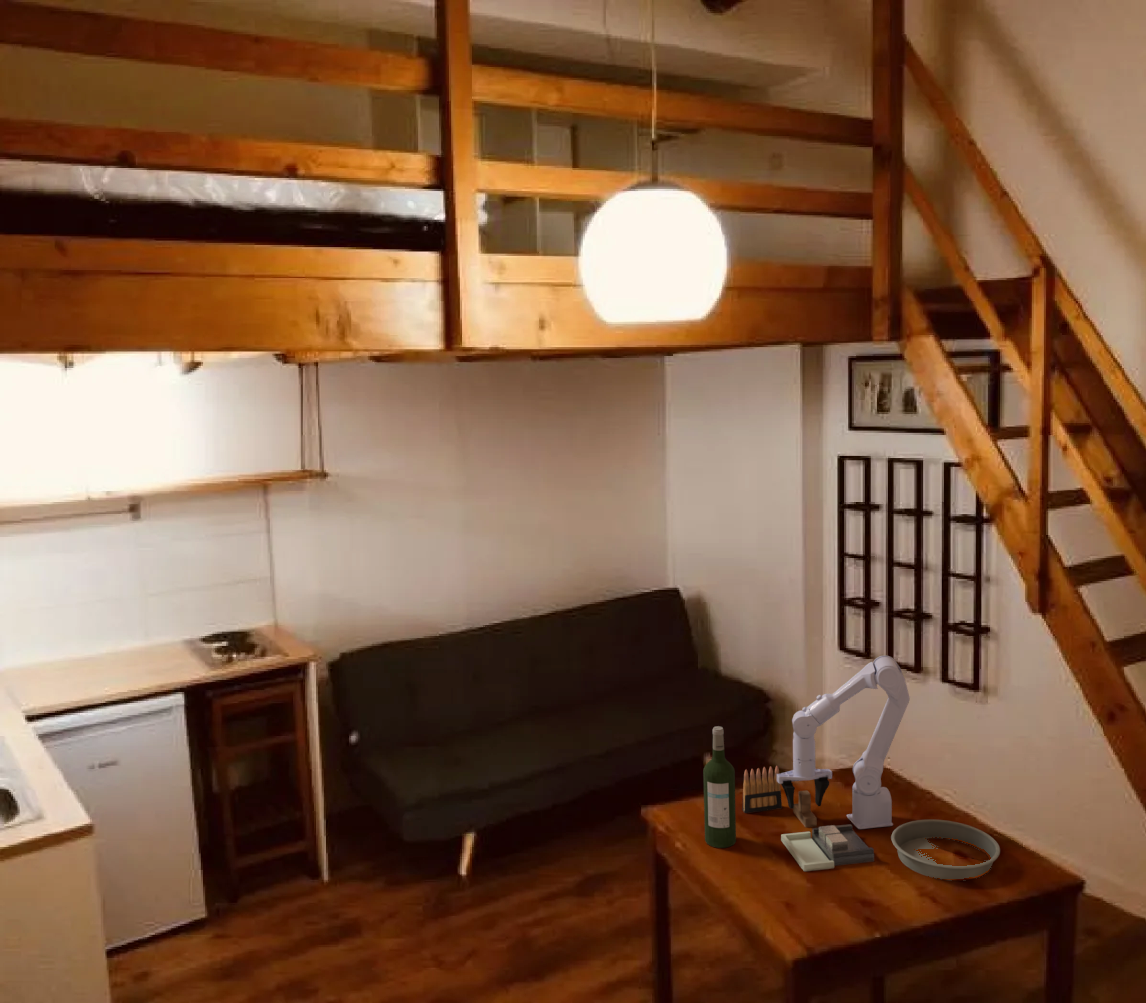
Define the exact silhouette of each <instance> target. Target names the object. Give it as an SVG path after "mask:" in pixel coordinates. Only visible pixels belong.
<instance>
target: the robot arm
mask: <svg viewBox="0 0 1146 1003" xmlns="http://www.w3.org/2000/svg"><path fill="white" fill-rule="evenodd" d="M878 686H879V687H880V688H881V689H882V690H884V692H885V693H886V695H887V699H886V702H885V704H884V707H883V709H882V711H881V714H880V716H879V719H878V721H877V723H876V726H875V728H874V731H873V733H872V736H871V738H870V740H869V742H868V745H867V748H866V749H865V750H864V751H863V752H862V754H861V756H860V757H859V759H857V760H856V761H855V762H854V764H853V765H852V773H853V776H854V780H855V782H854V783H853V785H852V789H851V790H852V791H851V792H852V795H851V796H852V804H851V807H852V809H851V810H852V811H851V812H852V813H849V814H846V817H847V819H848V820H849V821H851V823H852V824H853V825H854V826H855V827H856V828H857V830H866V829H873V828H874V829H875V828H885V827H892V826H894V823H893V822H892V820H893V819H892V816H893V815H892V811H893V809H892V808H893V806H892V805H893V804H892V802H893V800H892V796H891V792H890V791H889V789H888V788H887V787H886V786H882V780H881V778H882V774H883V771H884V764H885V760H886V757H887V755H888V752H889V750H890V747H892V743H893V742H894V739H895V736H896V734H897V732H898V728H899V727H900V725H901V723H902V720H903V717H904V715H905V712H906V710H907V707H908V705H909V703H910V698H911V696H910V695H909V691H908V690H909V689H908V686H907V682H906V678H905V676H904V674H903V671H902V669H901V666H900V665H899V664H898V663H897V661H896V659H894V658H893V657H892V656H889V655H880V656H878V657H876V658H875V659H874V660H873V661H870V662H869V663H866V665H865V666H863V668H861V670H859V671H858V672H857V673H856V674H855V675H853V676H852V677H851V678H850V679H849V680H847V681H846V682H845V683H844V684H842V685H841V686H840V687H839V688H837V690H835V691H834V692H833V693H824V694H822V695H821V694H818V695H817V696H816V700H814V701H813V702H811V703H810V704H809V705H808V706H803V707H802V708H801V709H802V710H798V711H796V712H795V713H794V714H793V717H792V719H791V723H792V728H793V734H792V761H793V762H792V769H791V770H789V771H785V772H781V773H779V774H777V782H778V783H779V784H780V786H781V787H782V789H783V790H784V793H785V796H786V800H787V805H788V807H789V809H790V810H793V809H794V804H795V802H794V800H795V799H794V795H795V791H796V790H795V789H796V788H795V786H794V784H793V782H799V781H800V782H801V781H812V780H813V781H814V787H815V788H814V790H815V792H814V793H815V794H814V800H815V802H814V803H815V805H817V807H821V806H822V801H823V798H824V796H825V793H826V791H827V790H828V787H830V779H831V780H832V779H833V771H832V770H831V769H830V768H816V740H815V734H816V732H817V728H818V727H820V726H822V725H824V723H827V722H828V720H830V719H831V718H833V717H834V716H835V715H837V714H838V713H839V712H840V709H841V705H842V704H844V703H845V702H846V701H849V700H850V699H851V698H852V697H854V696H856V695H857V694H858V693H860V692H861V691H863V690H864V689H873V690H878V689H879V688H878Z"/></svg>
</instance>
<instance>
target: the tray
mask: <svg viewBox="0 0 1146 1003" xmlns="http://www.w3.org/2000/svg"><path fill="white" fill-rule="evenodd" d="M780 841H781V842H782V844H783V845H784V846H785V847H786V849H787V851H788V852H789V853H790V854H791V855H792V857H793V858H794V860H795V862H796V863H797V864H798V865H799V867H800V868H801V869H802V870H803V872H811V871H821V870H829V869H835V866H834V861H833V860H830V861H829V859H828V858H827V857H826V856H825V854H824V853H823V852H822V851H821V849H820V848H819V847H818V846H817V844H816V843H815V842H814V841H813V839H812V832H810V831H802V832H801V831H800V832H792V833H783V834H780Z"/></svg>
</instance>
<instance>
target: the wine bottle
mask: <svg viewBox="0 0 1146 1003" xmlns="http://www.w3.org/2000/svg"><path fill="white" fill-rule="evenodd" d="M724 734H725V733H724V728H723V726H719V725H718V726H714V727H713V728H712V757H711V759H710V760H709V761H707V763H706V764H705V765H704V767H703V773H702V774H703V775H702V776H703V805H704V806H703V809H704V810H703V811H704V814H703V816H704V841H705V843H706V844H707V845H708V846H710V847H713V848H718V849H725V848H729V847H732V846H735V844H736V842H737V829H736V828H737V823H736V822H737V820H736V819H737V818H736V776H735V775H736V773H735V772H736V771H735V768H734V766H733V765H732V764H731V762H730V761H728V759H726V755H725V744H724V743H725V742H724V741H725V739H724V738H725V737H724Z"/></svg>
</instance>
